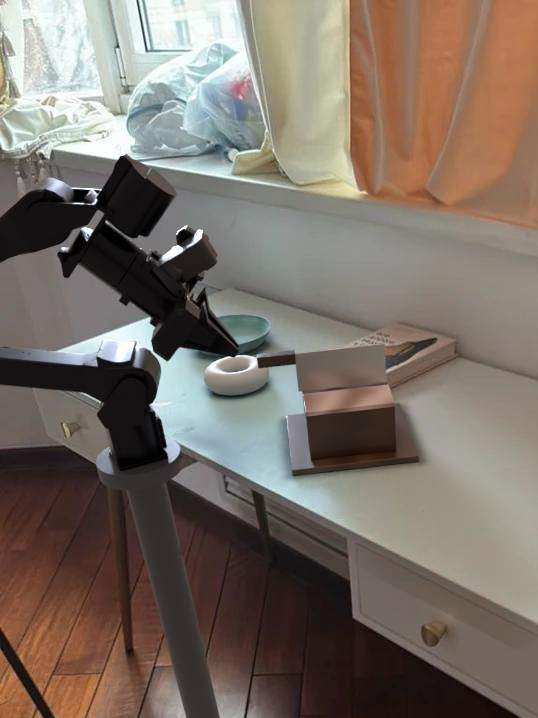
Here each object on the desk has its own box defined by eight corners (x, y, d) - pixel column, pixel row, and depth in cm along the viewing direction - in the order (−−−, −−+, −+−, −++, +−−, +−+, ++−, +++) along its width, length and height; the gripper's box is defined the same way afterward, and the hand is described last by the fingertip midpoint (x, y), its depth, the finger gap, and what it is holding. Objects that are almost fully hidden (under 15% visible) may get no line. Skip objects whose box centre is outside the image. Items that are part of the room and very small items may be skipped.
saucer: (178, 339, 148) (175, 324, 146) (259, 323, 151) (257, 308, 150) (198, 368, 137) (195, 352, 135) (284, 349, 140) (282, 334, 139)
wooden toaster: (292, 475, 106) (285, 421, 102) (287, 420, 119) (280, 370, 115) (418, 461, 107) (417, 407, 102) (400, 407, 119) (398, 357, 115)
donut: (240, 368, 136) (192, 389, 130) (238, 347, 134) (188, 367, 128) (284, 382, 130) (235, 404, 124) (281, 360, 128) (231, 382, 122)
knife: (262, 397, 107) (256, 357, 104) (262, 392, 109) (256, 353, 105) (387, 383, 108) (385, 343, 105) (385, 379, 109) (383, 339, 106)
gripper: (159, 232, 87) (280, 327, 94) (172, 192, 101) (275, 276, 108) (101, 317, 91) (220, 401, 98) (121, 267, 106) (223, 343, 113)
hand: (237, 351), depth 104 cm, fingers closed
